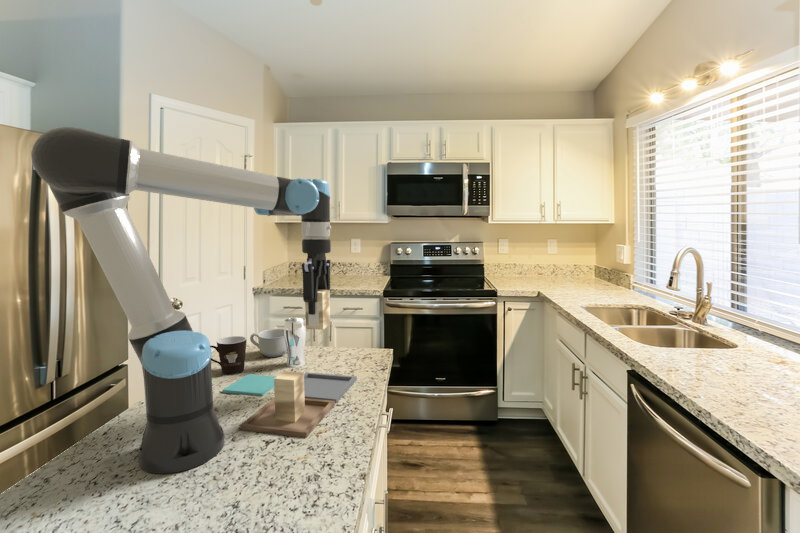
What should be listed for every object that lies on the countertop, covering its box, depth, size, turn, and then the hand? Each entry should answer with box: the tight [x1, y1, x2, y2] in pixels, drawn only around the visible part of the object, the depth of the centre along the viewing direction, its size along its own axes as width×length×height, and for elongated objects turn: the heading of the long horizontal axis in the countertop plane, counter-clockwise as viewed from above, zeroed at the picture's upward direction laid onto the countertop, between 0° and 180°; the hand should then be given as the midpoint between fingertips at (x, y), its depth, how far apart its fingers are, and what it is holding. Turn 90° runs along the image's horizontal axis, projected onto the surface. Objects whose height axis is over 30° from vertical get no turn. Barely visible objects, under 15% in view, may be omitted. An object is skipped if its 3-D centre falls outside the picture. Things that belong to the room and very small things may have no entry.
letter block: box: [304, 289, 331, 331], centre depth 109 cm, size 5×5×10 cm
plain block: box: [273, 370, 305, 422], centre depth 94 cm, size 5×5×10 cm
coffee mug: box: [210, 335, 247, 376], centre depth 125 cm, size 12×9×10 cm
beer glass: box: [283, 316, 307, 368], centre depth 131 cm, size 7×7×15 cm
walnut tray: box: [239, 397, 336, 438], centre depth 95 cm, size 16×16×1 cm
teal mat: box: [222, 373, 278, 397], centre depth 113 cm, size 12×12×1 cm
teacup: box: [249, 328, 287, 358], centre depth 142 cm, size 14×11×8 cm
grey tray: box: [304, 371, 358, 404], centre depth 111 cm, size 16×16×1 cm
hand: (318, 323), depth 109 cm, fingers closed on letter block, 5 cm apart
